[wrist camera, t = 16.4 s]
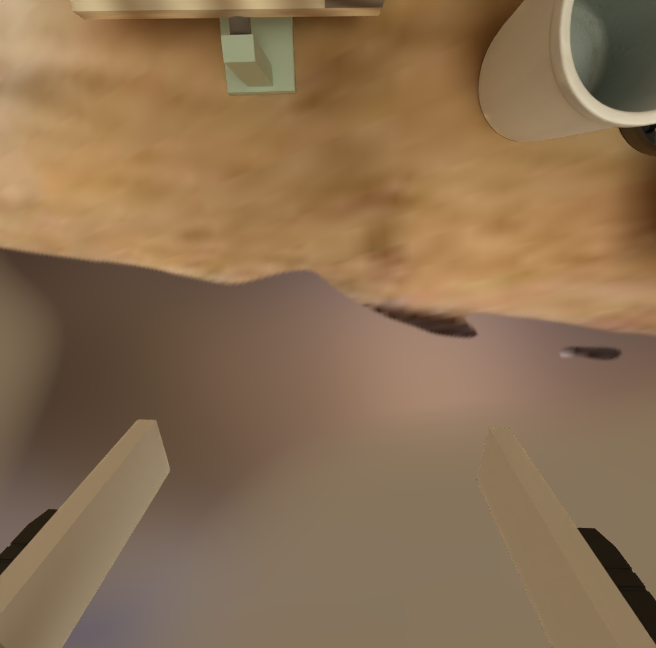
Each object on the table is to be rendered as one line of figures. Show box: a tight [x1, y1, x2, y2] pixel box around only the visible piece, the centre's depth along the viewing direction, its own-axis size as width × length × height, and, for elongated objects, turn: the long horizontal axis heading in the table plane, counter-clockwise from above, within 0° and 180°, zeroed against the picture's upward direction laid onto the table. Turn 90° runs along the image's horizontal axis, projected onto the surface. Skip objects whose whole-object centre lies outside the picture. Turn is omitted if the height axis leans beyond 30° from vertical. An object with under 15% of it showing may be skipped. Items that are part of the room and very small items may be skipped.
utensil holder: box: [478, 0, 656, 142], centre depth 29 cm, size 15×15×18 cm
